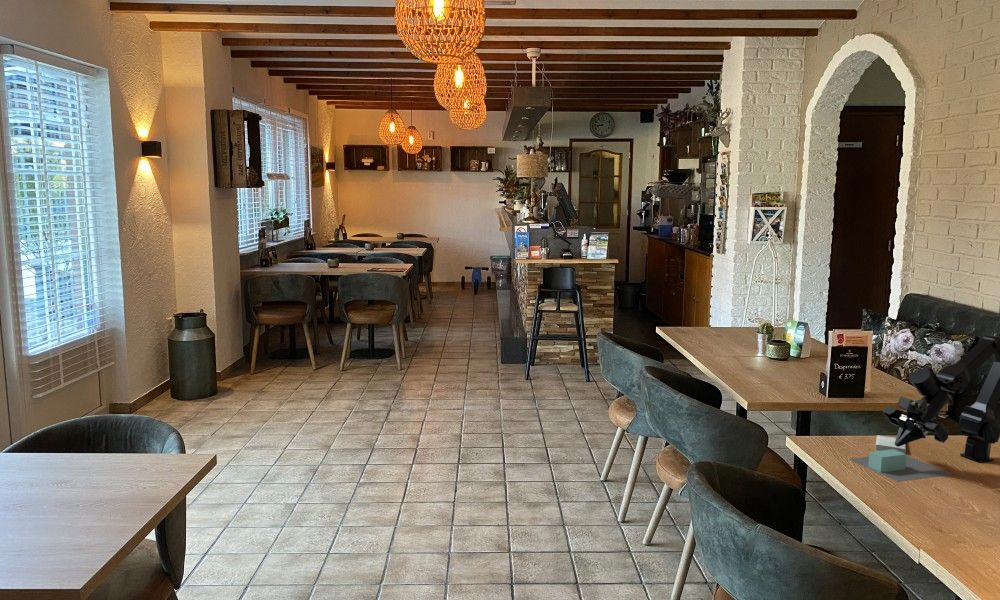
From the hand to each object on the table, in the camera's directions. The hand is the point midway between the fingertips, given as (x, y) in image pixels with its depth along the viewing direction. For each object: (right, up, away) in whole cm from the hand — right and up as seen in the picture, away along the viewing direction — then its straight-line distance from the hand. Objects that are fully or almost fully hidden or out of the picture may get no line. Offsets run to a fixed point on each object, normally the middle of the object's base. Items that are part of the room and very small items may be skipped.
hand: (896, 445), depth 216 cm
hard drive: (+8, -4, +19) cm, 22 cm away
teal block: (+2, -4, +1) cm, 5 cm away
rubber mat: (+2, -7, +2) cm, 7 cm away
